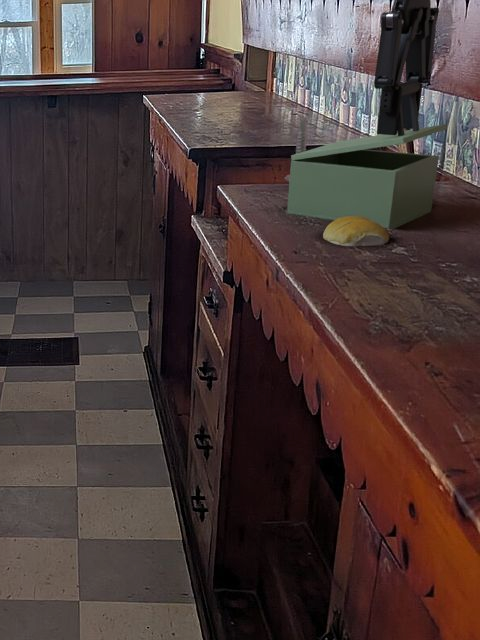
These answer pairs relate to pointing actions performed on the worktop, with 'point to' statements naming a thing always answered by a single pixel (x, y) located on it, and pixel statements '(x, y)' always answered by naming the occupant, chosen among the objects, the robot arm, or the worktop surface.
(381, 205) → the bread bin
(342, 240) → the bread roll
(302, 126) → the screw
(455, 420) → the worktop surface
